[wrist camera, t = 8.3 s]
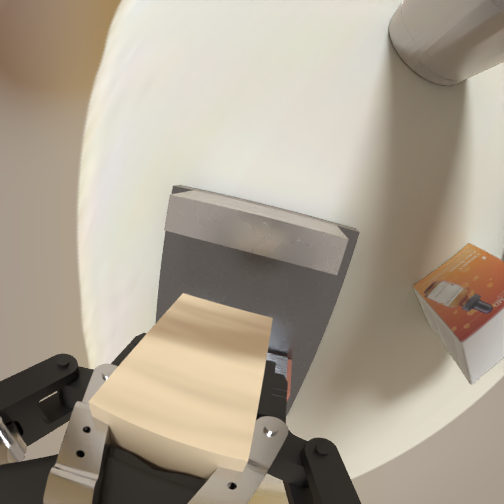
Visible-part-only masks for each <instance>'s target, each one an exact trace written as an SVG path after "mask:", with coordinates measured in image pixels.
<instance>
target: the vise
mask: <svg viewBox="0 0 504 504" xmlns="http://www.w3.org/2000/svg"><path fill="white" fill-rule="evenodd" d="M165 231H166V232H165V239H164V246H163V254H162V262H161V271H160V280H159V290H158V301H157V313H156V323H157V322H158V321H159V319H160V318H161V317H162V316H163V315H164V314H165V313H166V312H167V310H168V309H169V308H170V307H171V306H172V305H173V304H174V303H175V301H176V300H177V299H178V298H179V297H180V296H181V295H182V294H183V293H184V294H188V295H191V296H194V297H198V298H201V299H205V300H208V301H211V302H215V303H218V304H222V305H226V306H229V307H233V308H236V309H240V310H244V311H247V312H251V313H255V314H259V315H263V316H267V317H271V318H273V320H272V326H271V333H270V339H269V346H268V352H267V353H271V354H275V355H279V356H283V357H288V359H290V360H292V365H291V389H290V396H289V398H288V400H287V405H286V416H287V414H288V412H289V410H290V408H291V406H292V404H293V402H294V400H295V398H296V395H297V393H298V391H299V389H300V387H301V385H302V383H303V381H304V378H305V376H306V374H307V372H308V370H309V367H310V365H311V363H312V360H313V358H314V356H315V353H316V351H317V349H318V346H319V344H320V342H321V339H322V337H323V334H324V332H325V329H326V327H327V324H328V322H329V319H330V317H331V314H332V311H333V309H334V306H335V303H336V301H337V298H338V295H339V292H340V290H341V287H342V284H343V281H344V278H345V275H346V273H347V270H348V267H349V264H350V261H351V257H352V254H353V251H354V248H355V245H356V242H357V238H358V235H359V231H357V230H356V229H354V228H351V227H348V226H344V225H341V224H337V223H334V222H330V221H326V220H323V219H319V218H316V217H312V216H308V215H304V214H301V213H297V212H293V211H289V210H285V209H281V208H278V207H274V206H270V205H266V204H262V203H257V202H253V201H249V200H245V199H241V198H236V197H232V196H228V195H223V194H219V193H215V192H210V191H205V190H201V189H196V188H192V187H187V186H182V185H176V186H173V189H172V194H171V195H170V198H169V204H168V210H167V216H166V223H165Z"/></svg>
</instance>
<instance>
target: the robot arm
mask: <svg viewBox="0 0 504 504" xmlns="http://www.w3.org/2000/svg"><path fill="white" fill-rule="evenodd" d="M389 34H390V38H391V41H392V44H393V46H394V48H395V50H396V51H397V53H398V55H399V56H400V57H401V58H402V60H403V61H404V62H405V63H406V64H407V65H408V66H409V67H410V68H411V69H412V70H413V71H414V72H416V73H417V74H418V75H420V76H421V77H423V78H425V79H426V80H428V81H430V82H433V83H435V84H438V85H444V86H450V85H455V84H457V83H460V82H462V81H464V80H466V79H468V78H470V77H472V76H474V75H476V74H479V73H481V72H483V71H485V70H487V69H489V68H491V67H494V66H496V65H498V64H500V63H502V62H504V0H403V1H402V3H401V4H400V6H399V7H398V9H397V10H396V12H395V13H394V15H393V17H392V19H391V21H390V23H389ZM145 335H146V333H143V334H141V335H138V336H136V337H135V338H134V339H133V340H132V341H131V343H130V344H129V345H128V346H127V347H126V348H125V349H124V350H123V351H122V352H121V353H120V354H119V355H118V357H117V358H116V359H115V360H114V361H113V362H112V363H111V364H102V365H99V366H98V367H96V368H95V370H93V369H88V368H83V367H79V366H78V363H77V360H76V359H75V358H74V357H73V356H71V355H68V354H58V355H55V356H53V357H51V358H49V359H47V360H45V361H42V362H40V363H38V364H36V365H34V366H32V367H30V368H28V369H26V370H24V371H21V372H20V373H17V374H15V375H13V376H11V377H9V378H7V379H5V380H2V381H0V504H248V502H249V501H250V499H251V497H252V496H253V494H254V493H255V491H256V490H257V488H258V487H259V485H260V483H261V482H262V480H263V478H264V477H265V475H266V473H267V474H270V475H272V476H274V477H276V478H278V479H281V480H283V483H284V487H285V491H286V494H287V498H288V502H289V504H361V502H360V500H359V497H358V495H357V493H356V491H355V488H354V486H353V484H352V481H351V479H350V477H349V475H348V472H347V470H346V468H345V465H344V463H343V461H342V459H341V456H340V454H339V452H338V450H337V447H336V446H335V445H334V444H333V443H332V442H331V441H329V440H327V439H324V438H313V439H311V440H309V441H306V440H303V439H301V438H299V437H297V436H295V435H293V434H292V433H291V432H290V431H289V430H288V427H287V425H286V421H285V420H286V405H287V389H288V382H287V380H286V378H285V376H284V375H283V374H279V373H275V367H276V362H273V361H268V360H266V364H265V370H264V376H263V382H262V388H261V394H260V400H259V405H258V411H257V417H256V422H255V428H254V433H253V438H252V443H251V449H250V454H249V459H248V462H247V464H246V466H245V468H244V470H243V472H239V471H235V470H230V469H226V468H222V467H218V468H217V470H216V471H215V472H214V473H213V474H212V476H211V477H210V478H209V479H208V480H207V481H203V480H200V479H196V478H193V477H190V476H186V475H182V474H174V473H167V472H161V471H156V470H154V469H152V468H151V467H149V466H148V465H146V464H145V463H143V462H142V461H140V460H139V459H138V458H136V457H135V456H133V455H132V454H129V453H127V452H125V451H123V450H121V449H119V448H117V447H115V446H113V445H111V444H110V445H109V441H110V438H111V433H110V428H109V425H108V424H106V423H104V422H102V421H100V420H98V419H96V418H94V417H93V416H92V414H91V410H90V406H89V402H88V401H89V400H90V399H91V398H92V397H93V395H94V394H95V393H96V392H97V391H98V390H99V388H100V387H101V386H102V385H103V384H104V383H105V381H106V380H107V379H108V378H109V377H110V375H111V374H112V373H113V372H114V371H115V370H116V368H117V367H118V366H119V365H120V364H121V363H122V362H123V360H124V359H125V358H126V357H127V356H128V355H129V353H130V352H131V351H132V350H133V349H134V348H135V347H136V345H137V344H138V343H139V342H140V341H141V340H142V339H143V337H144V336H145ZM55 391H57V393H56V394H54V395H52V396H50V397H48V398H47V399H45V400H43V401H41V402H39V401H40V400H41V399H43V398H45V397H46V396H48V395H50V394H52V393H54V392H55ZM68 421H69V423H68V426H67V429H66V432H65V435H64V438H63V441H62V444H61V448H60V451H59V454H57V455H53V456H48V457H43V458H38V459H33V460H27V461H22V460H24V458H25V453H26V449H27V446H29V445H30V444H32V443H34V442H35V441H37V440H39V439H40V438H42V437H44V436H45V435H47V434H48V433H50V432H52V431H53V430H55V429H56V428H58V427H60V426H61V425H63V424H64V423H66V422H68ZM108 445H109V447H108ZM18 461H21V462H18Z"/></svg>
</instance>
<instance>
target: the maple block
mask: <svg viewBox="0 0 504 504" xmlns="http://www.w3.org/2000/svg"><path fill="white" fill-rule="evenodd" d="M272 320H273V318H271V317H267V316H263V315H259V314H255V313H251V312H247V311H244V310H240V309H236V308H233V307H229V306H226V305H222V304H218V303H215V302H211V301H208V300H205V299H201V298H198V297H194V296H191V295H188V294H184V293H183V294H182V295H181V296H180V297H179V298H178V299H177V300H176V301H175V303H174V304H173V305H172V306H171V307H170V308H169V309H168V310H167V312H166V313H165V314H164V315H163V316H162V317H161V318H160V319H159V321H158V322H157V323H156V324H155V325H154V326H153V327H152V328H151V330H150V331H149V332H148V333H147V334H146V335H145V336H144V337H143V339H142V340H141V341H140V342H139V343H138V344H137V345H136V347H135V348H134V349H133V350H132V351H131V352H130V353H129V355H128V356H127V357H126V358H125V359H124V360H123V362H122V363H121V364H120V365H119V366H118V367H117V368H116V370H115V371H114V372H113V373H112V374H111V375H110V377H109V378H108V379H107V380H106V381H105V383H104V384H103V385H102V386H101V387H100V388H99V390H98V391H97V392H96V393H95V394H94V395H93V397H92V398H91V399H90V400H89V401H88V402H89V406H90V410H91V414H92V416H93V417H94V418H96V419H98V420H100V421H102V422H104V423H106V424H108V425H109V428H110V433H111V438H110V441H109V445H110V444H111V445H113V446H115V447H117V448H119V449H121V450H123V451H125V452H127V453H129V454H132V455H133V456H135V457H136V458H138V459H139V460H140V461H142V462H143V463H145V464H146V465H148V466H149V467H151V468H152V469H154V470H156V471H161V472H167V473H174V474H182V475H186V476H190V477H193V478H196V479H200V480H203V481H207V480H208V479H209V478H210V477H211V476H212V474H213V473H214V472H215V471H216V470H217V468H218V467H222V468H226V469H230V470H235V471H239V472H243V470H244V468H245V466H246V464H247V462H248V459H249V454H250V449H251V443H252V438H253V433H254V428H255V422H256V417H257V411H258V405H259V400H260V394H261V388H262V382H263V376H264V370H265V364H266V358H267V352H268V346H269V339H270V333H271V326H272ZM109 445H108V447H109Z"/></svg>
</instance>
